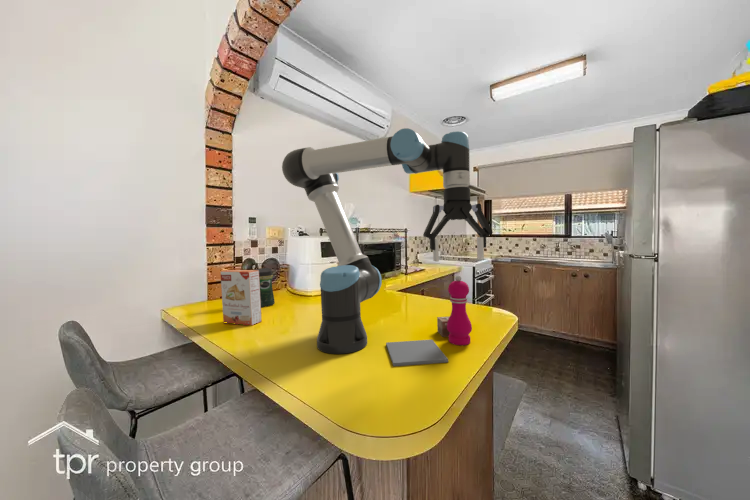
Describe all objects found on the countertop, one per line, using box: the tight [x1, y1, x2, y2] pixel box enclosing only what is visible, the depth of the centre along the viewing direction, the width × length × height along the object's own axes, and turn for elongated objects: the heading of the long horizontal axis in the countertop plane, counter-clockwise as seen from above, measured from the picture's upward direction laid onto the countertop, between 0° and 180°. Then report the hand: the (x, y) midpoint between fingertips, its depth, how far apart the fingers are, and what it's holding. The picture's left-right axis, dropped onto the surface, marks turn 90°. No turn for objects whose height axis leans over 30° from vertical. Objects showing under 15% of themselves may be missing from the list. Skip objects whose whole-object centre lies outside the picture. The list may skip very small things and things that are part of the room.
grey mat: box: [385, 339, 449, 367], centre depth 79 cm, size 14×14×1 cm
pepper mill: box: [447, 275, 473, 346], centre depth 86 cm, size 7×7×20 cm
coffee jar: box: [254, 267, 275, 308], centre depth 142 cm, size 10×8×19 cm
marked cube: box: [436, 315, 450, 338], centre depth 93 cm, size 5×5×5 cm
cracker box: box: [220, 269, 262, 326], centre depth 113 cm, size 14×6×21 cm, turn 71°
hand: (458, 260), depth 85 cm, fingers open, 13 cm apart
